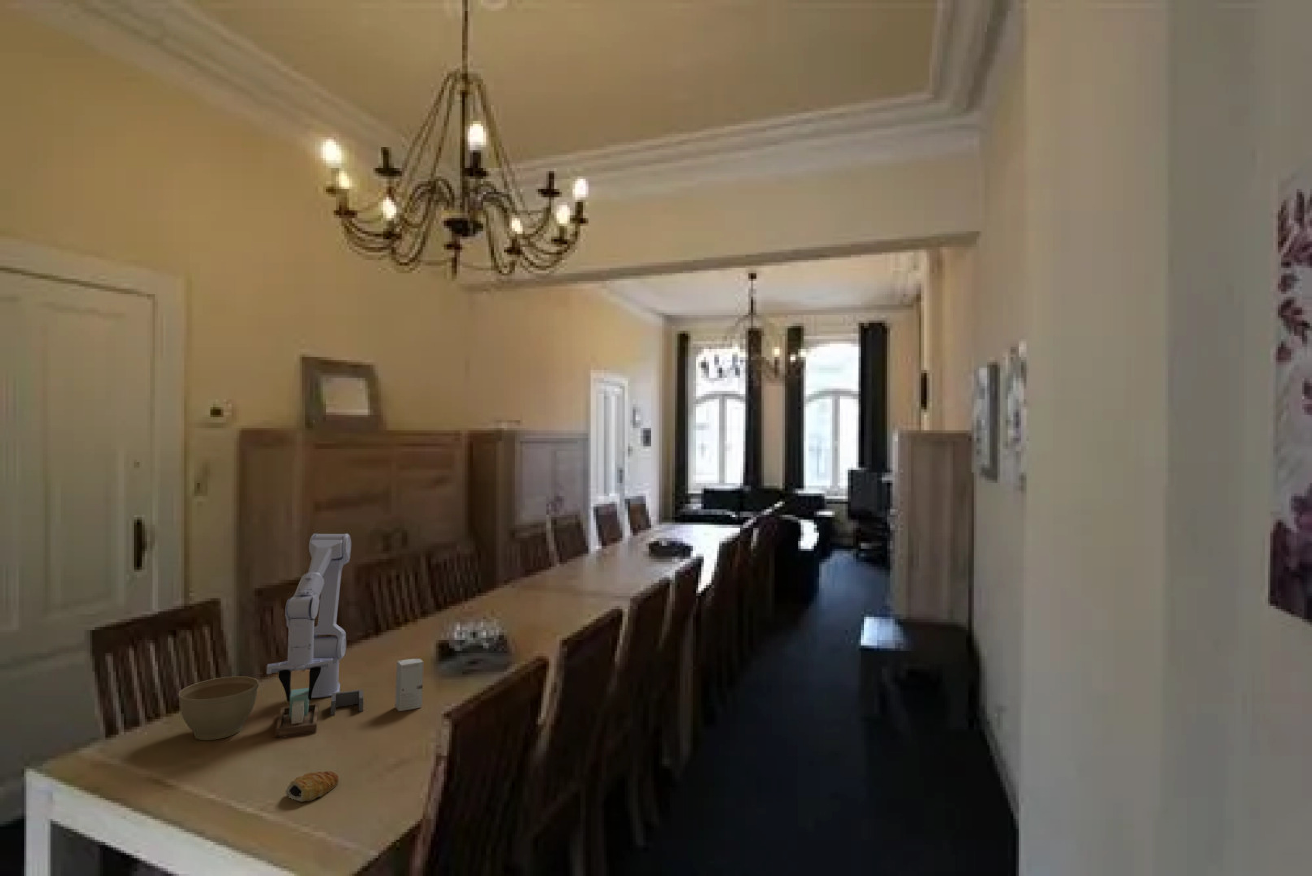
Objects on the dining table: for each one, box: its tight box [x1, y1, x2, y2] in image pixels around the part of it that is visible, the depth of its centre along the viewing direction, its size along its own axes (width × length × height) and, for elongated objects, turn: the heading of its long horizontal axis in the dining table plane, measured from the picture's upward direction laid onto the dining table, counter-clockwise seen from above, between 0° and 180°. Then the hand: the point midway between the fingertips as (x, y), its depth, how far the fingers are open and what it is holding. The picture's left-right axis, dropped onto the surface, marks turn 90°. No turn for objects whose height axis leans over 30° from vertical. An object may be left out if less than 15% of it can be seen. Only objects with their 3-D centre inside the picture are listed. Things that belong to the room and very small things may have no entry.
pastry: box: [285, 770, 339, 803], centre depth 136 cm, size 9×7×4 cm
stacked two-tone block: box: [288, 687, 310, 724], centre depth 169 cm, size 10×4×5 cm, turn 24°
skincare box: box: [394, 657, 424, 712], centre depth 181 cm, size 6×4×12 cm
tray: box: [274, 702, 320, 739], centre depth 169 cm, size 15×9×2 cm, turn 24°
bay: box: [330, 689, 364, 716], centre depth 179 cm, size 7×8×4 cm
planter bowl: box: [178, 675, 260, 741], centre depth 163 cm, size 16×16×11 cm
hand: (299, 698), depth 170 cm, fingers closed on stacked two-tone block, 4 cm apart
